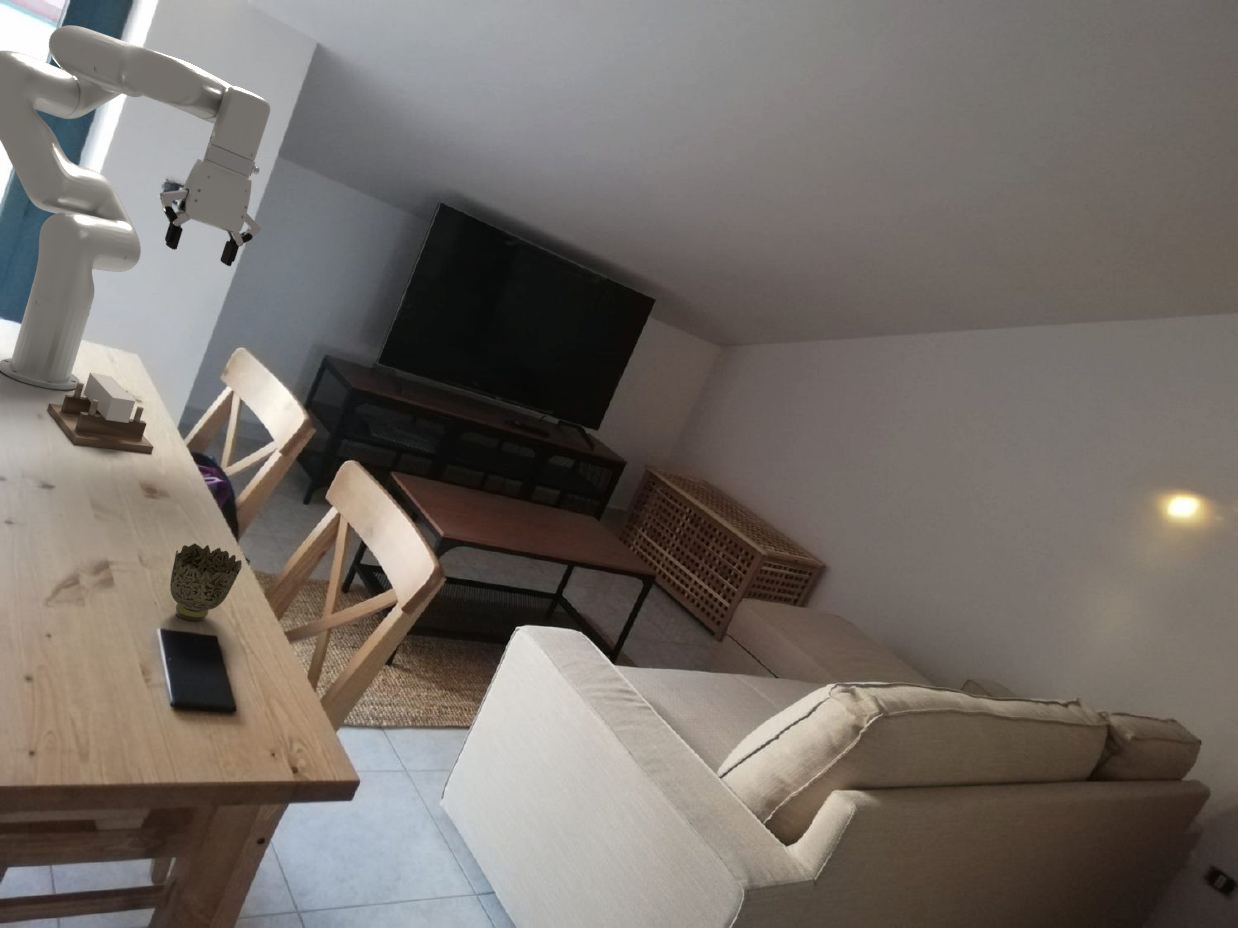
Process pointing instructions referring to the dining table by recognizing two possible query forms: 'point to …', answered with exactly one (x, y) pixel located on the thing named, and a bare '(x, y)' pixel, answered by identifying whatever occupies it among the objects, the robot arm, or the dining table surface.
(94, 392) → the white rectangular block
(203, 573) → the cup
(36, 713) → the dining table surface
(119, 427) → the walnut rack
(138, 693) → the dining table surface
